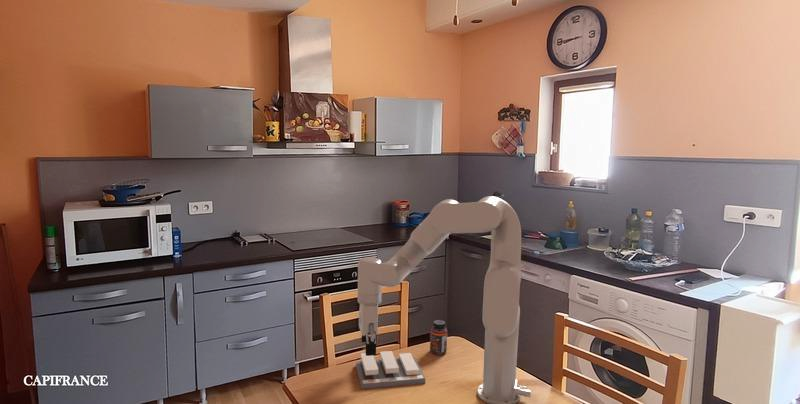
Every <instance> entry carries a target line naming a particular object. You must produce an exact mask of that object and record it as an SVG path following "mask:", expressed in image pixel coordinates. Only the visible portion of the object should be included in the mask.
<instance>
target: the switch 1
mask: <svg viewBox="0 0 800 404" xmlns="http://www.w3.org/2000/svg"><path fill="white" fill-rule="evenodd" d="M375 360H376V359H375V355H372V356H366V352H361V353H360V361H362V364H363V368H364V372H365V375H376V374H378V367H377V364H376V361H375Z"/></svg>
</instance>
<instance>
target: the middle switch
mask: <svg viewBox="0 0 800 404" xmlns="http://www.w3.org/2000/svg"><path fill="white" fill-rule="evenodd" d="M379 357H380V360H381V361H382V363H383V366H384V369H385V372H386V374H387V373H399V367H398V364H397V362H396V360H395V358H396V357H395V355H394V353H393V351H392V350H390V351H389V350H388V351H387V350H386V351H380V352H379Z"/></svg>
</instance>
